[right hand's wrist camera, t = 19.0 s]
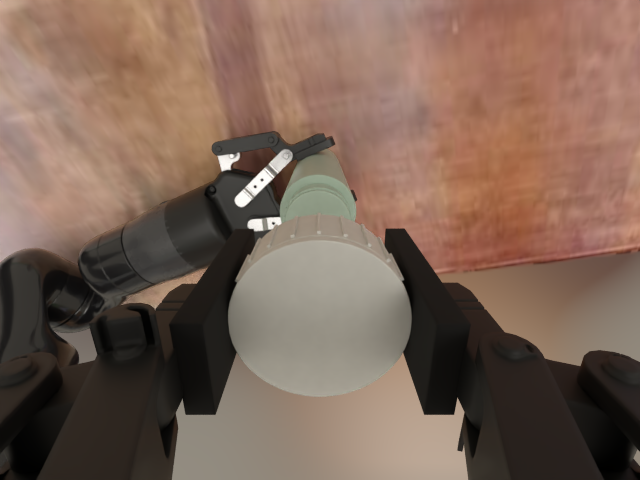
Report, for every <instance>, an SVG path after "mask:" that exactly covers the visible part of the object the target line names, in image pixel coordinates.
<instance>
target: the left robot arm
mask: <svg viewBox="0 0 640 480" xmlns="http://www.w3.org/2000/svg"><path fill="white" fill-rule="evenodd" d="M333 145H335V142H334V140H333V137H332V136H330V137H328V138H325V135H324V133H321V134H316V135H314V136H311V137H309V138H307V139H305V140H303V141H300V142H298V143H296V144H292V145H291V144H288V143H286V142H285V141H284V140H283V139H282V137H281V136H280V134H279V133H278V132H276V131H272V132H266V133H261V134H255V135H249V136H243V137H238V138H232V139H226V140H222V141H218V142H215V143H214V144H213V145H212V151H213V153H214V154H215V155H217V156H218V160H219V164H220V167H221V171H222V172H221V173H220V174H219V175H218V177H217V178H216V179H215V180H214V181H212V182H210V183H208V184H206V185H203V186H201V187H199V188H197V189H195V190H192V191H190V192H188V193H186V194H183V195H181V196H179V197H177V198H175V199H172V200H170V201H165V202H163V203H161V204H160V205H159V206H157V207H154V208H152V209H150V210H148V211H146V212H145V213H143V214H141V215H140V216H138V217H137V218H135V219H133V220H132V221H130V222H127V223H125V224H123V225H120V226H118V227H116V228H114V229H111V230H109V231H107V232H105V233H103V234H101V235H98V236H96V237H95V238H93V239H91V240H90V241H88V242H87V243H86V244H85V245H84V246H83V247H82V249H81V251H80V253H79V257H78V265H76V264H74V263H72V262H70V261H68V260H66V259H64V258H62V257H60V256H58V255H57V254H54V253H52V252H50V251H47V250H44V249H40V248H28V249H23V250H20V251H17V252H15V253H13V254H11V255H9V256H8V257H6V258H5V259H4V260H2V261H1V262H0V364H1V363H3V362H6V361H8V360H9V359H11V358H14V357H17V356H21V355H24V354H29V353H36V352H46V353H51V354H52V355H54V356H55V357H56V359H57V362H58V365H59V367H60V368H62V367H67V366H71V365H76V364H79V354H78V352H77V350H76V349H75V348H74V347H73V346H72V345H71V344H70V343H68V342H67V341H65V340H64V339H62V338H61V337H59V336H58V335H57V334H56V333H55V332H54V331H56V332H61V333H73V332H79V331H83V330H86V329H89V328H90V327H89V323H90V321H91V320H92V319H93V318H94V317H95V316H97V315H99V314H100V313H102V312H104V311H105V310H108V309H111V308H113V307H116V306H120V305H121V304H122V303H123V302H125V301H126V300H127V299H128V298H130V297H131V296H132V295H134V294H137V293H140V292H142V291H145V290H147V289H150V288H152V287H155V286H157V285H159V284H162V283H164V282H168V281H171V280H176V279H179V278H182V277H185V276H188V275H190V274H193V273H195V272H198V271H200V270H202V269H205V268H207V267H209V266H210V264H211V263H212V261H213V260H214V259H215V257H216V256H217V254H218V253H219V251H220V250H221V248H222V247H223V246H224V244H225V243H226V241H227V240H228V238H229V237H230V236H231V234H232V233H233V231H234V230H235V229H254V235H255V245H256V242H257V240H258V239H259V238H261V239H262V238H263V237H264V236H265V235H266V234H267V233H268V232H270V231H271V230H272V229H273V228H274V225H276V224H277V225H280V224H282V222H281V218H280V205H281V201H282V200H281V199H280V198H279V197H278V195H277V192H276V187H275V185H274V183H273V181H272V179H273V178H274V177H275V176H276V175H277V174H278V173H279V172H280V171H281V170H282V169H283V168H284V167H285V166H286V165H287V164H288V163H289V162H291V161H294V160H296V159H297V161H300V160H302V159H304V158H306V157H308V156H311V155H313V154H315V153H318V152H320V151H322V150H325V149H327V148H329V147H331V146H333ZM269 147H270V148H271V149H272V150H273V151H274V152H275V153H276V154H277V156H276V157H275V158H274V159H273V160H272V161H271V162H270V163H269V164H268V165H267V166H266V167H265V168H264V169H263V170H262V171H261V172H260V173H259V174H256V173H252V172H247V171H243V170H239V169H234V168H233V164H234V162H236V161H238V160H240V159H241V157H242V152H245V151H251V150H257V149H263V148H269ZM351 193H352V195H353V198H354V200H355V201H357V198H356V195H355V193H354V191H353V190H351ZM6 461H7V459H6V456H5V454H4V452H3V451H2V453H1V454H0V468H1V467H2V465H3V464H4V463H5V462H6Z"/></svg>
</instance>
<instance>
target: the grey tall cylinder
mask: <svg viewBox="0 0 640 480" xmlns="http://www.w3.org/2000/svg"><path fill="white" fill-rule="evenodd" d="M317 213H321V214H324V215H334V216H338V217H340V215H342V216H344V218H346V219H349V220H351V221H354V222H355V218H356V205H355V200H354V198H353V195H352V193H351V190H350V188H349V186H348V183H347V181H346V178H345V176H344V173H343V171H342V168H341V166H340V163H339V161H338V159H337V157H336V156H335V154H334V153H333V152H332V151H330V150H328V149H325V150H322V151H320V152H318V153H315V154H313V155H311V156H308V157H306V158H304V159H302V160H300V161H298V162H297V164H296V167H295V169H294V171H293V174H292V176H291V179H290V181H289V183H288V186H287V188H286V191H285V193H284V195H283V198H282V201H281V205H280V218H281V222H282V223H284V222H286V221H289V220H291V219H294V217H295V216H298V217H301V216H307V215H317Z"/></svg>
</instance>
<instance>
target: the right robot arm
mask: <svg viewBox="0 0 640 480" xmlns="http://www.w3.org/2000/svg"><path fill="white" fill-rule="evenodd" d="M254 247H255V235H254V229H235V230H234V231H233V233H232V234H231V236H230V237H229V238H228V240H227V241H226V243H225V244H224V246H223V247H222V248H221V250H220V251H219V253H218V254H217V256H216V257H215V259H214V260H213V261H212V263H211V264H210V266H209V267H208V269H207V270H206V271H205V273H204V274H203V276H202V277H201V279H200V280H199V281H198V283H197V284H181V285H180V286H178V287H177V288H175V289H173V290H172V291H170V292H169V293H168V294H167V296H166V297H165V298H164V299H163V301H162V303H160V304H159V305H158V307H157V308H156V311H155V309H154V308H153V307H152V306H150V305H148V304H143V303H129V304H124V305H120V306H116V307H113V308H111V309H108V310H105V311H104V312H102V313H100V314H99V315H97V316H95V317H94V318H93V319H92V320H91V321H90V323H89V327H90V330H91V334H92V337H93V341H94V344H95V348H96V351H97V357H96V359H95V360H94V361H90V362H86V363H82V364H76V365H71V366H67V367H62V368H60V367H59V365H58V362H57V359H56V357H55V356H54V355H52V354H51V353H46V352H36V353H29V354H24V355H21V356H17V357H14V358H11V359H9V360H8V361H6V362H3V363H1V364H0V454H1V453H2V451H3V452H4V454H5V456H6V459H7V461H6V462H5V463H4V464H3V465H2V467H1V468H0V480H172V473H173V465H174V457H175V449H176V441H177V433H178V424H177V418H176V411H177V409H178V407H179V405H180V403H181V400H182V398H183V403H184V408H185V414H186V415H215V414H216V412H217V409H218V405H219V403H220V400H221V397H222V394H223V391H224V388H225V385H226V382H227V379H228V376H229V373H230V370H231V367H232V364H233V361H234V359H235V355H236V353H237V352H236V350H235V348H234V345H233V343H232V340H231V337H230V334H229V326H228V308H229V302H230V299H231V296H232V293H233V291H234V288H235V286H236V284H237V282H235V280H236V278H237V276H238V274H239V271H240V269H241V267H242V265H243V263H244V261H245V259H246V257H247V255H248V254H249V255H251V253H252V251H253V249H254ZM385 248H386V250H387V251H388V253H389V254H390V253H391V254H392V256H393V258H394V260H395V262H396V264H397V266H398V268H399V270H400V272H401V274H402V276H403V278H404V280H403V281H402V283H403V285H404V287H405V289H406V291H407V294H408V296H409V300H410V304H411V309H412V323H411V332H410V336H409V340H408V342H407V345H406V347H405V349H404V351H403V353H404V356H405V359H406V362H407V365H408V368H409V371H410V374H411V377H412V380H413V383H414V386H415V389H416V392H417V395H418V397H419V400H420V403H421V406H422V409H423V412H424V415H454V412H455V407H456V402H457V397H458V399H459V401H460V403H461V405H462V408H463V410H464V412H465V413H464V418H463V423H462V428H461V433H460V438H459V443H458V451H462V450H463V446H464V448H465V456H466V464H467V472H468V480H640V466H639V465H638V463H637V462H636V461H635V460H634V459H633V458H634V456H635V454H636V451H637V449H638V450H639V451H640V362H638V361H636V360H634V359H632V358H630V357H629V356H626V355H623V354H619V353H615V352H609V351H601V350H598V351H590V352H588V353H587V354H586V355H584V358H583V361H582V364H581V366H576V365H571V364H566V363H562V362H557V361H552V360H548V359H545V358H544V356H543V354H542V353H541V352H540V350H539V349H538V348H537V347H536V346H535V345H533V344H532V343H530V342H529V341H528V340H526V339H523V338H521V337H519V336H517V335H513V334H509V333H505V332H504V331H503V330H502V329H501V327H500V326H499V325H498V324H497V322H496V321H495V320H494V319H493V318H492V316H491V315H490V314H489V313H488V311H487V310H484V307H483V305H482V304H481V303H480V302H478V299H477V298H476V297H475V296H474V294H473V293H472V292H471V291H470V290H468V289H467V288H465V287H464V286H462V285H460V284H459V283H442V282H441V280H440V279H439V278H438V276H437V275H436V273H435V272H434V270H433V269H432V267H431V266H430V265H429V263H428V262H427V260H426V259H425V257H424V256H423V255H422V253H421V252H420V250H419V249H418V247H417V246H416V244H415V243H414V242H413V240H412V239H411V237H410V236H409V234H408V233H407V232H406V230H405V229H386V232H385Z"/></svg>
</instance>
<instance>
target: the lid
mask: <svg viewBox="0 0 640 480" xmlns="http://www.w3.org/2000/svg"><path fill="white" fill-rule="evenodd" d="M403 280H404V278H403V276H402V274H401V272H400V270H399V268H398V266H397V264H396V262H395V260H394V258H393V256H392V254H391V253H390V254H389V253H388V251H387V250H386V248H385V246H384V244H383V242H382V240H381V238H380V237H378V238H377V237H376V236H375V235H374V234H373V233H372V232H370V231H369V230H368V229H366V228H365V226H364V224H362V223H361V225H360V224H358V223H356V222H354V221H351V220H349V219H346V218H344V216H342V215H340V217H338V216H334V215H324V214H321V213H317V215H307V216H301V217H298V216H295V217H294V219H291V220H289V221H286V222H284V223H282V224H280V225H277V224H276V225H274V228H273V229H272V230H271V231H270V232H268V233H267V234H266V235H265V236H264V237H263V238H262V239H261V238H259V239H258V240H257V242H256V245H255V247H254V249H253V251H252V253H251V255H249V254H248V255H247V257H246V259H245V261H244V263H243V265H242V267H241V269H240V271H239V274H238V276H237V278H236V280H235V282H237V284H236V286H235V288H234V291H233V293H232V296H231V299H230V302H229V308H228V326H229V334H230V337H231V340H232V343H233V345H234V348H235V350H236V352H237V353H238V355H239V356H240V358H241V360H242V361H243V362H244V363H245V364H246V366H247V367H248V368H249V369H250V370H251V371H252V372H253V373H254V374H256V375H257V376H258V377H260V378H261V379H262V380H264V381H265V382H267V383H269V384H271V385H272V386H274V387H277V388H279V389H281V390H284V391H287V392H290V393H294V394H299V395H304V396H314V397H325V396H335V395H341V394H345V393H350V392H353V391H355V390H359V389H361V388H363V387H365V386H367V385H369V384H371V383H373V382H374V381H376V380H378V379H379V378H380V377H381V376H383V375H384V374H385V373H387V372H388V371H389V370H390V369H391V367H393V366H394V364H395V363H396V362H397V360H398V359H399V358H400V356H401V355H402V353H403V351H404V349H405V347H406V345H407V342H408V340H409V336H410V332H411V323H412V309H411V304H410V300H409V296H408V294H407V291H406V289H405V287H404V285H403V283H402V281H403Z"/></svg>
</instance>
